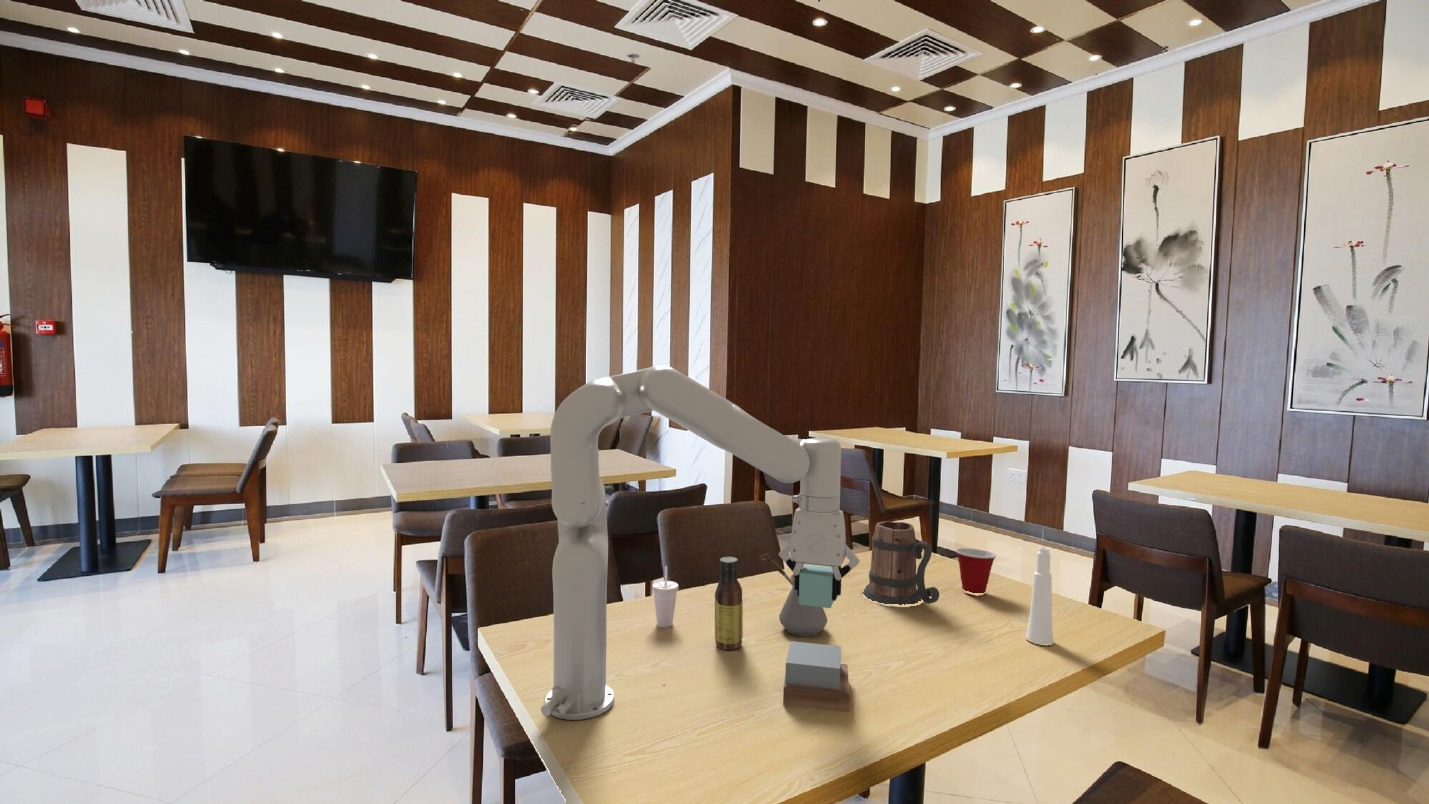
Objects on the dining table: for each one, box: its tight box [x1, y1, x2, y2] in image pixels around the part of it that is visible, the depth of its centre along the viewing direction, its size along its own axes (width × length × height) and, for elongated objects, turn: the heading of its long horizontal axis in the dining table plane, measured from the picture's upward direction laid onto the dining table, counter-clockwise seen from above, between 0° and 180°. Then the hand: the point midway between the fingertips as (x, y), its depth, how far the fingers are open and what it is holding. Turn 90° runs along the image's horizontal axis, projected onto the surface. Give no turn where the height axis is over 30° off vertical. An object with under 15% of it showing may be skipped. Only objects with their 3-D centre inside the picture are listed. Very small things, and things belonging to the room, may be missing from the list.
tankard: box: [863, 521, 940, 605], centre depth 180 cm, size 24×17×20 cm
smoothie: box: [651, 565, 680, 628], centre depth 161 cm, size 6×6×14 cm
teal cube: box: [799, 564, 835, 609], centre depth 128 cm, size 6×6×6 cm
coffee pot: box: [760, 552, 828, 637], centre depth 163 cm, size 21×12×15 cm, turn 34°
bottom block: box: [782, 663, 850, 713], centre depth 129 cm, size 12×12×4 cm
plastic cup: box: [955, 547, 997, 593], centre depth 188 cm, size 11×11×12 cm
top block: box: [784, 640, 842, 690], centre depth 129 cm, size 10×10×4 cm
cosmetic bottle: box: [1025, 546, 1055, 645], centre depth 155 cm, size 6×6×22 cm
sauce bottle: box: [714, 556, 744, 651], centre depth 149 cm, size 7×6×20 cm
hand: (817, 595), depth 128 cm, fingers closed on teal cube, 6 cm apart
